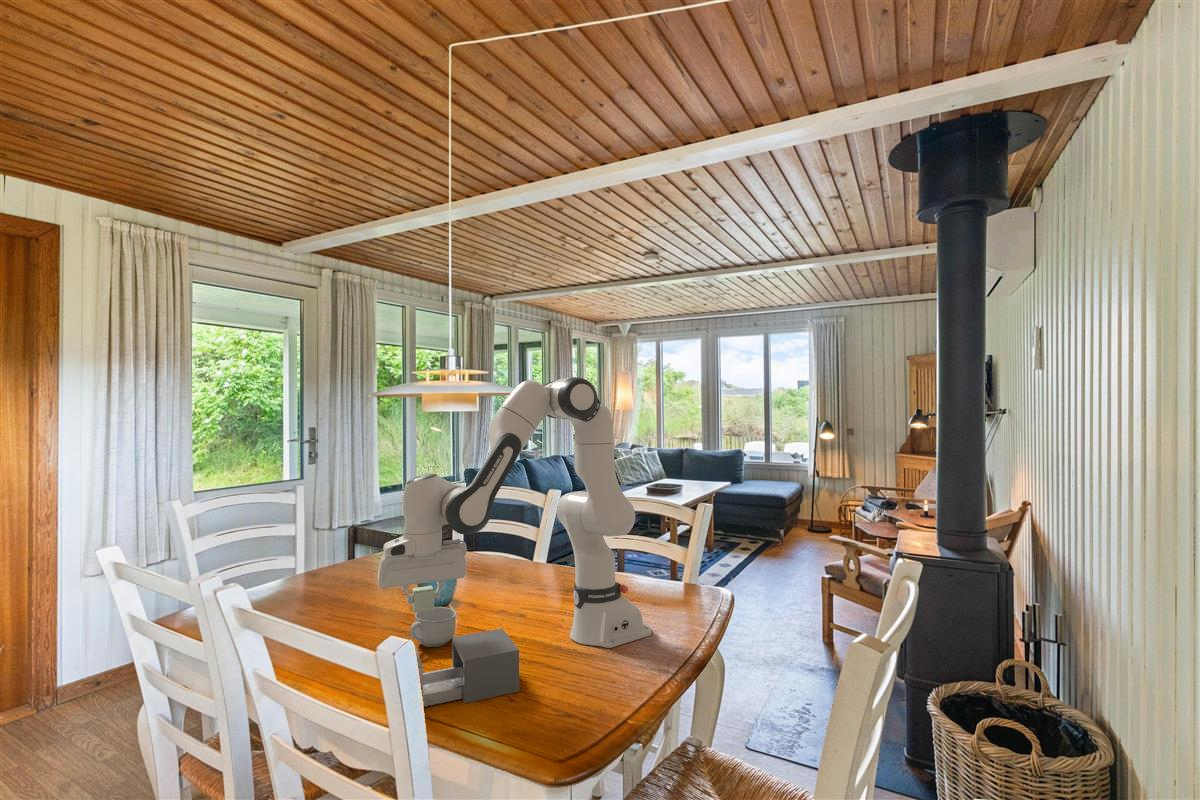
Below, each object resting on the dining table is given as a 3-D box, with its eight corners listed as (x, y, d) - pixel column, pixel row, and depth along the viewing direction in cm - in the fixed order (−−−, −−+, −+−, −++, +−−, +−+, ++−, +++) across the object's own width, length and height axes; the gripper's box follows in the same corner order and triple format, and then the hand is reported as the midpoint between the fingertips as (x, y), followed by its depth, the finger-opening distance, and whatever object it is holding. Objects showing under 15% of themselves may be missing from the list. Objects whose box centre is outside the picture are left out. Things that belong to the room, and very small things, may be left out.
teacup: (441, 631, 159) (440, 603, 159) (464, 641, 152) (464, 611, 152) (395, 648, 148) (395, 617, 148) (419, 659, 141) (419, 626, 141)
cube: (431, 604, 137) (431, 585, 137) (434, 609, 133) (434, 590, 133) (412, 607, 135) (412, 588, 135) (414, 613, 131) (414, 593, 131)
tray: (463, 673, 132) (463, 637, 132) (474, 697, 121) (474, 657, 121) (410, 684, 127) (410, 646, 127) (417, 710, 116) (416, 668, 116)
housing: (502, 665, 137) (502, 628, 137) (519, 691, 124) (519, 650, 124) (452, 675, 132) (452, 636, 132) (464, 703, 119) (464, 660, 119)
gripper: (464, 535, 142) (464, 591, 141) (376, 544, 133) (377, 603, 133) (469, 540, 136) (469, 598, 136) (378, 550, 127) (378, 612, 127)
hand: (423, 601), depth 134 cm, fingers closed on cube, 4 cm apart
